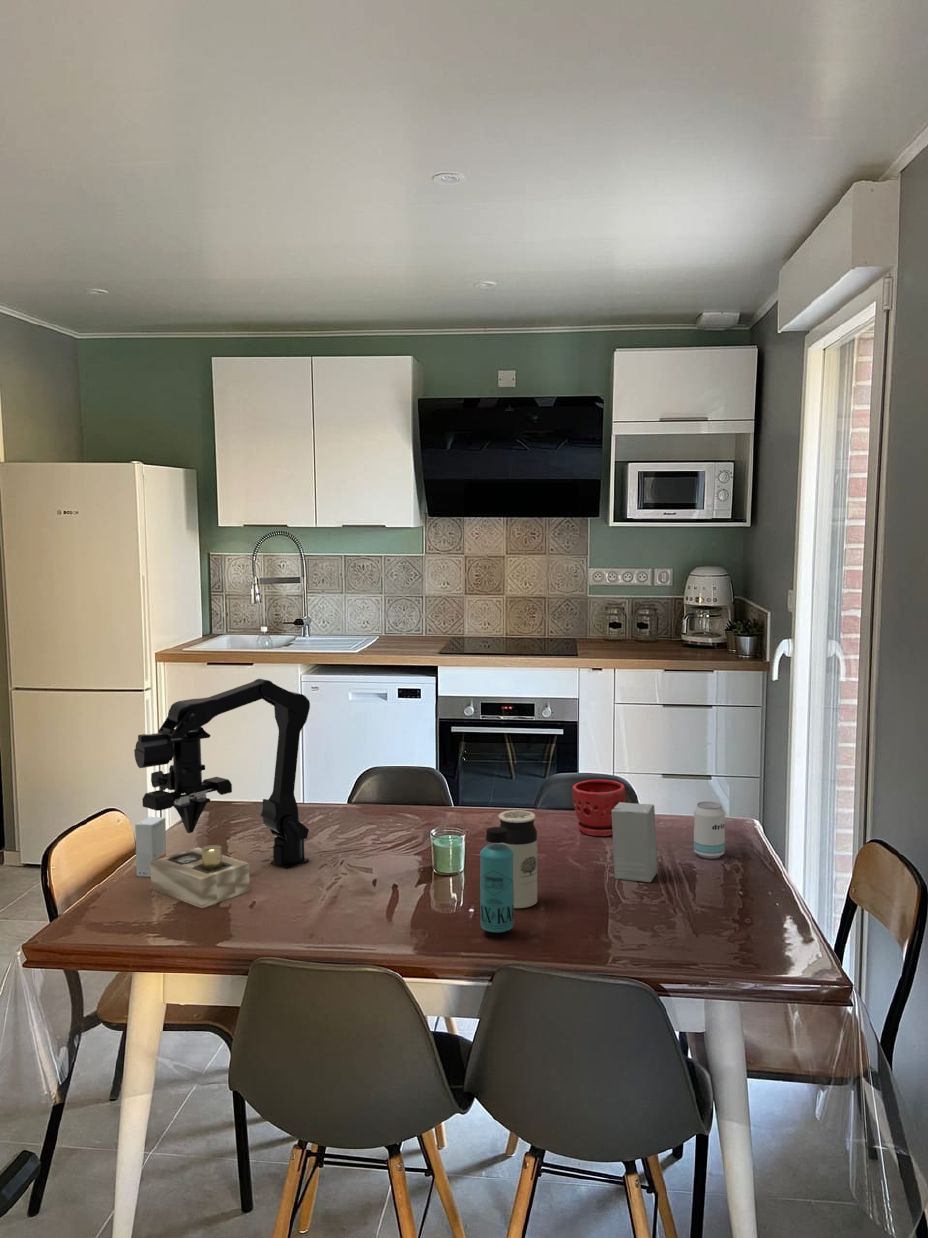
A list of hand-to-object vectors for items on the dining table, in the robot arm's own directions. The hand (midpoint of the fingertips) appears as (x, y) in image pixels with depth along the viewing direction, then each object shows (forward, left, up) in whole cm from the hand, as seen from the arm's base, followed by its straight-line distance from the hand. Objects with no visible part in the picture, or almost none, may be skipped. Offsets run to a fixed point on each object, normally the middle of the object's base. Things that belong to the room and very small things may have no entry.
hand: (189, 832), depth 198 cm
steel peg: (0, -1, -12) cm, 12 cm away
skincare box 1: (0, -15, -12) cm, 19 cm away
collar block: (0, +3, -12) cm, 12 cm away
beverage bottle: (-20, +67, -12) cm, 71 cm away
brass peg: (0, +8, -8) cm, 11 cm away
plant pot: (-86, +50, -12) cm, 100 cm away
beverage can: (-85, +80, -12) cm, 117 cm away
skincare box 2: (-62, +73, -12) cm, 97 cm away
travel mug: (-35, +61, -12) cm, 71 cm away
